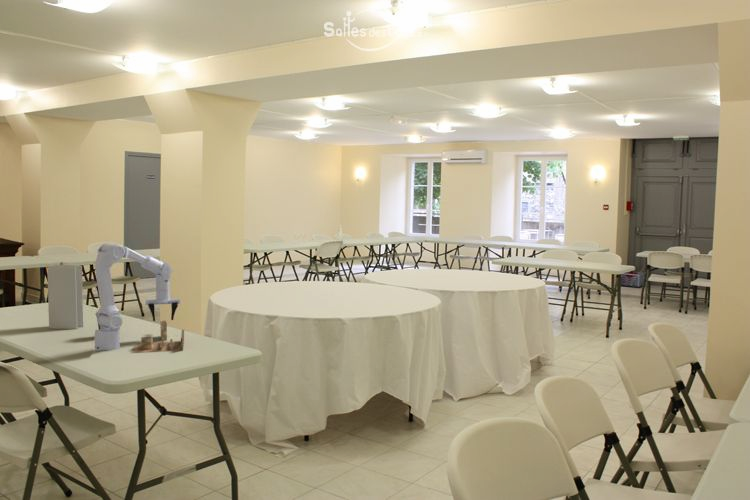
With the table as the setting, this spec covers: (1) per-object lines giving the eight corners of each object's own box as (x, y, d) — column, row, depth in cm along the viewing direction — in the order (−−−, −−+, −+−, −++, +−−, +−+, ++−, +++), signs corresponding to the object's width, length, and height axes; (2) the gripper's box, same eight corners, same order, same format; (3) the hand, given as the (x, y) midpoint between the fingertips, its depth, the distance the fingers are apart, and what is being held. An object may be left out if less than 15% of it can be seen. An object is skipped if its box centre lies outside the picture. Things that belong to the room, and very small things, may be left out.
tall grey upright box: (83, 326, 307) (82, 265, 305) (77, 329, 301) (75, 266, 299) (56, 325, 308) (54, 265, 306) (49, 328, 303) (47, 266, 300)
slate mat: (148, 344, 272) (148, 343, 272) (150, 337, 284) (150, 336, 284) (177, 342, 275) (177, 341, 275) (178, 336, 287) (178, 335, 287)
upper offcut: (141, 343, 258) (141, 337, 258) (142, 340, 263) (142, 334, 263) (151, 342, 259) (151, 336, 259) (152, 340, 264) (152, 334, 264)
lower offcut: (141, 349, 258) (141, 343, 258) (142, 345, 265) (142, 339, 264) (151, 349, 259) (151, 343, 259) (152, 345, 266) (152, 339, 265)
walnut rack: (130, 355, 252) (130, 340, 251) (135, 345, 269) (135, 331, 269) (182, 352, 257) (182, 338, 257) (184, 343, 274) (184, 329, 274)
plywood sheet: (162, 341, 275) (161, 323, 274) (160, 337, 284) (160, 319, 283) (166, 341, 275) (166, 323, 275) (165, 336, 285) (165, 319, 284)
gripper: (145, 291, 271) (146, 322, 272) (180, 290, 277) (181, 321, 278) (145, 289, 278) (145, 320, 279) (179, 288, 283) (179, 318, 284)
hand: (163, 320), depth 279 cm, fingers open, 7 cm apart
